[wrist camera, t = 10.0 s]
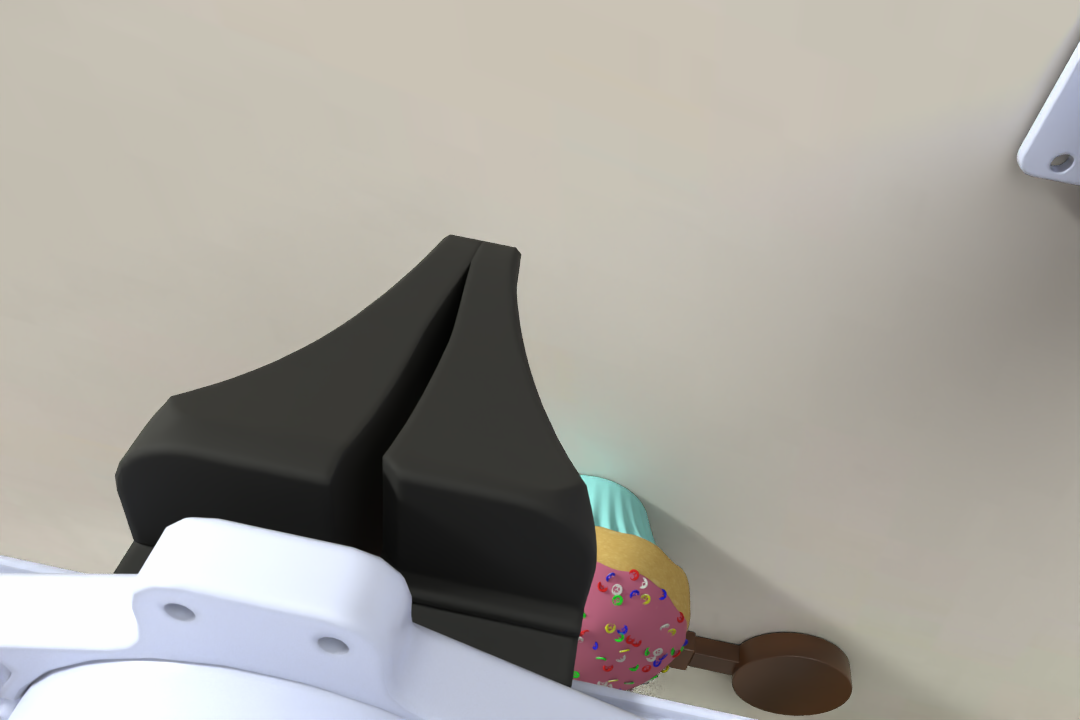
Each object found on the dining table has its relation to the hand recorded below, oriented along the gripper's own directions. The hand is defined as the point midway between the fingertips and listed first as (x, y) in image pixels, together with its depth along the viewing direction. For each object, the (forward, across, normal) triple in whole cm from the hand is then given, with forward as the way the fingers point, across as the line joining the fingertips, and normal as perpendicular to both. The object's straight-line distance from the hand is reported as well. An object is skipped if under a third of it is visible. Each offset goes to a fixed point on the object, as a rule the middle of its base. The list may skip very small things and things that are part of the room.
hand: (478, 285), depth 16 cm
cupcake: (+10, -4, +18) cm, 20 cm away
